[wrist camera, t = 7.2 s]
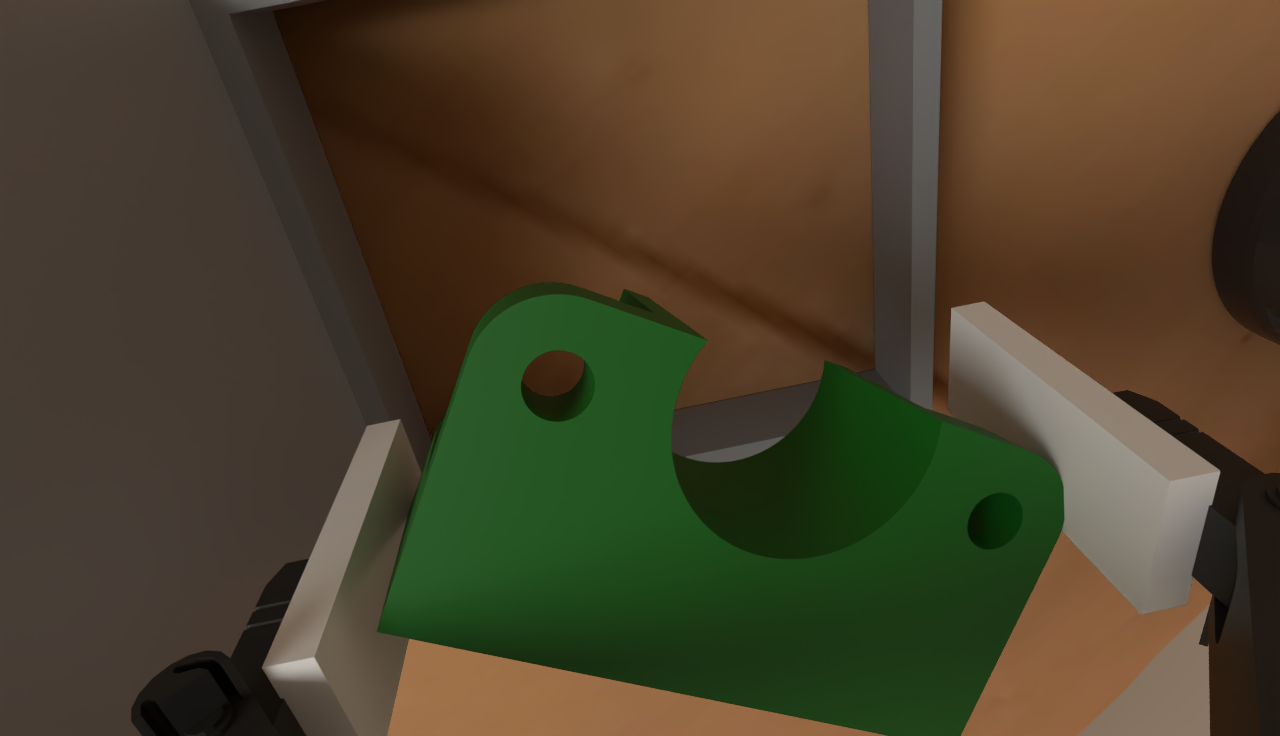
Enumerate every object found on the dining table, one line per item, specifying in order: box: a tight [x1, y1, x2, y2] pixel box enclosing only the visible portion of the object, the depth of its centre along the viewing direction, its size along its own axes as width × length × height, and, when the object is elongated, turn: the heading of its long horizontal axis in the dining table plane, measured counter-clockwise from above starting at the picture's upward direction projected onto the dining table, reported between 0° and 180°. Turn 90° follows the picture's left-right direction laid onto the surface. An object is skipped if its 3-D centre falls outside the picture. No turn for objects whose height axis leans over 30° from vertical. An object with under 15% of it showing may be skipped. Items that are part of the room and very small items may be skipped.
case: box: [0, 0, 942, 736], centre depth 21 cm, size 25×22×23 cm
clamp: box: [377, 282, 1065, 736], centre depth 15 cm, size 12×6×9 cm, turn 61°
